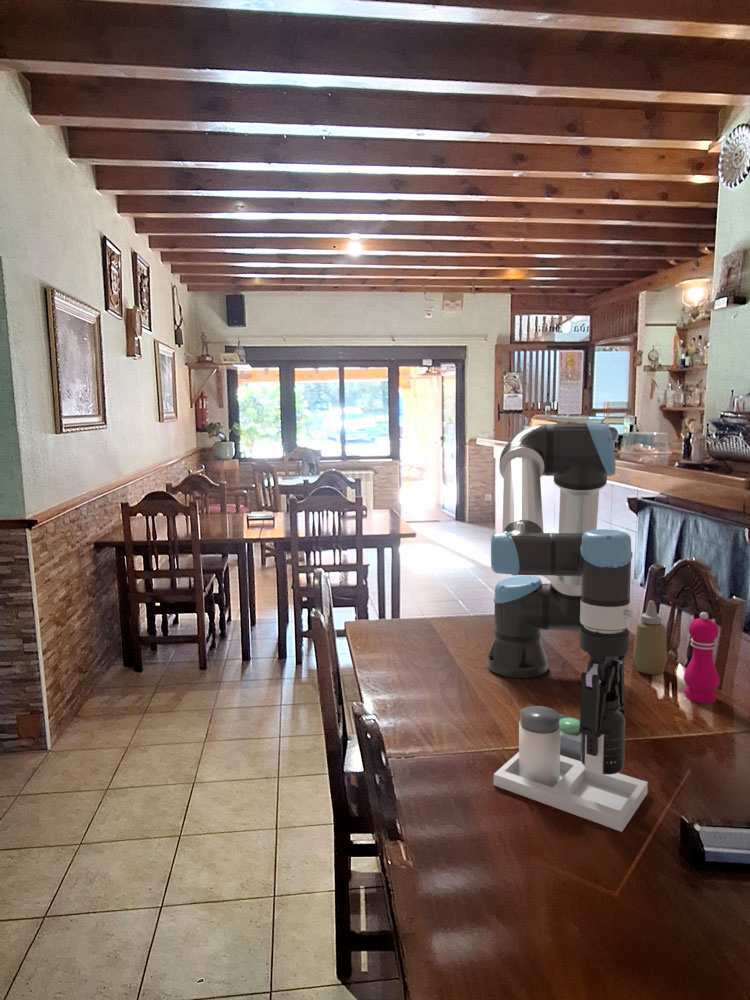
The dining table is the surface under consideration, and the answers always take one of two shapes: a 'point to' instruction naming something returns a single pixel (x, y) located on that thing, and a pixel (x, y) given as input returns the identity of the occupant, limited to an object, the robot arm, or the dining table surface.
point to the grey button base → (570, 742)
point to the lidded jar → (539, 745)
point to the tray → (580, 792)
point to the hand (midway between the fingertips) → (602, 761)
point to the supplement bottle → (611, 736)
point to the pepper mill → (702, 661)
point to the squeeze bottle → (650, 642)
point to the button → (570, 726)
